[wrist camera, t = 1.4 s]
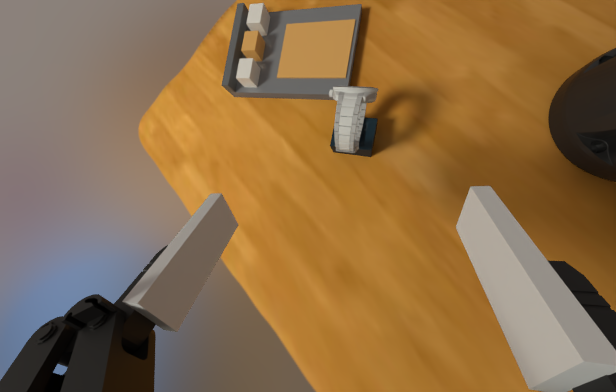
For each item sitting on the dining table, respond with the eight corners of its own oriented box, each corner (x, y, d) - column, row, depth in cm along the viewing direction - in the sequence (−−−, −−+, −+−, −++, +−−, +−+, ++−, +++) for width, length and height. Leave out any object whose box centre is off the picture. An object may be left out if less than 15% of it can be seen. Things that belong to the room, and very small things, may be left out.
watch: (378, 114, 31) (385, 63, 21) (368, 168, 31) (369, 144, 21) (340, 112, 33) (328, 62, 22) (330, 163, 33) (313, 138, 22)
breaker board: (361, 13, 34) (361, -14, 30) (347, 100, 33) (344, 84, 29) (248, 22, 39) (235, 0, 35) (234, 96, 38) (219, 83, 34)
